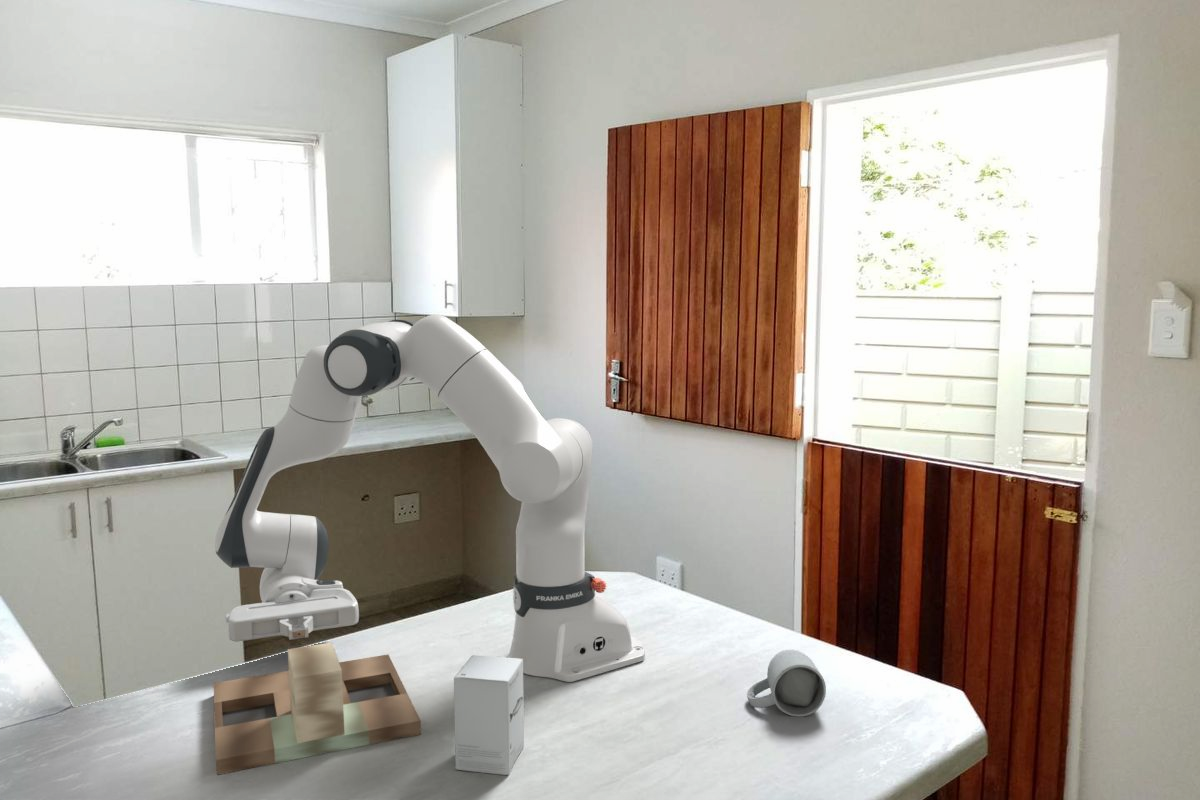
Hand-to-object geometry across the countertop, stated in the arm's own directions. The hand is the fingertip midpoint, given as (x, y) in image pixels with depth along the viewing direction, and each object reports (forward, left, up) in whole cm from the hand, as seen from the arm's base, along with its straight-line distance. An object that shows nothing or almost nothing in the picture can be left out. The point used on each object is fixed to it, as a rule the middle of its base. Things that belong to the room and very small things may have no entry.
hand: (298, 633), depth 145 cm
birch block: (0, +21, -5) cm, 22 cm away
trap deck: (0, +14, -7) cm, 16 cm away
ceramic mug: (-64, +39, -7) cm, 75 cm away
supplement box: (-20, +36, -7) cm, 42 cm away
